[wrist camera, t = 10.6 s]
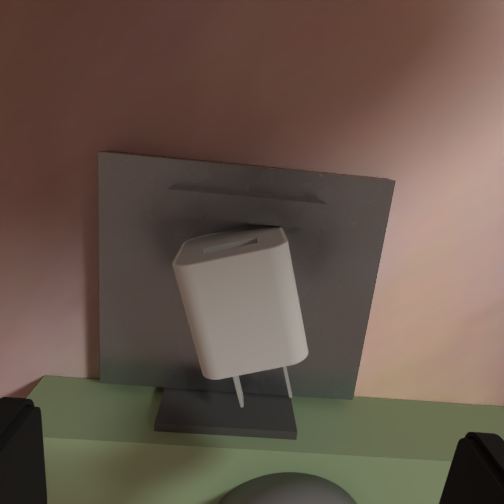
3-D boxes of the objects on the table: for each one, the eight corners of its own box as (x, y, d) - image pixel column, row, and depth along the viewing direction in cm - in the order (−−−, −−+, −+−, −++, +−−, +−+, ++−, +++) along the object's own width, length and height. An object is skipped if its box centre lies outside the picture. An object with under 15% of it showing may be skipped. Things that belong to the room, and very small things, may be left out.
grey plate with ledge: (106, 150, 16) (83, 153, 14) (386, 178, 17) (410, 185, 15) (106, 371, 19) (87, 403, 17) (347, 387, 20) (361, 421, 18)
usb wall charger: (278, 219, 17) (290, 244, 13) (305, 362, 18) (322, 421, 15) (184, 239, 17) (168, 269, 13) (221, 379, 19) (216, 442, 15)
